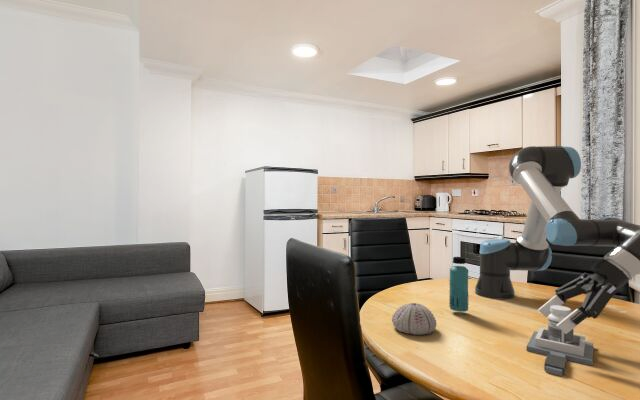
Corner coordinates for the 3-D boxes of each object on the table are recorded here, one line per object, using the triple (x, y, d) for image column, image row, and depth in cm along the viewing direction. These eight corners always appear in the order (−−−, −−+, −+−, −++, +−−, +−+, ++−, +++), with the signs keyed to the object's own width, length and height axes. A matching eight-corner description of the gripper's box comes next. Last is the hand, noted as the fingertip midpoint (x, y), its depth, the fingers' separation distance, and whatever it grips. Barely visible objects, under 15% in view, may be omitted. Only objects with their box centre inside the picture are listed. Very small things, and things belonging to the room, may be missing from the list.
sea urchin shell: (435, 340, 102) (435, 312, 102) (388, 334, 107) (388, 307, 107) (437, 325, 115) (437, 300, 115) (395, 320, 119) (395, 296, 119)
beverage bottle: (469, 312, 129) (469, 256, 129) (468, 317, 123) (468, 259, 123) (449, 309, 131) (450, 255, 131) (448, 314, 125) (448, 257, 125)
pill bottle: (569, 342, 99) (569, 306, 99) (576, 350, 93) (577, 312, 93) (545, 339, 100) (545, 303, 100) (551, 347, 95) (551, 309, 95)
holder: (519, 365, 87) (519, 352, 87) (534, 335, 107) (534, 324, 107) (591, 384, 78) (591, 369, 78) (593, 347, 98) (593, 335, 98)
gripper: (660, 291, 81) (583, 350, 85) (602, 270, 105) (544, 317, 109) (632, 266, 82) (558, 325, 86) (582, 251, 106) (525, 298, 110)
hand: (550, 321), depth 97 cm, fingers open, 13 cm apart
